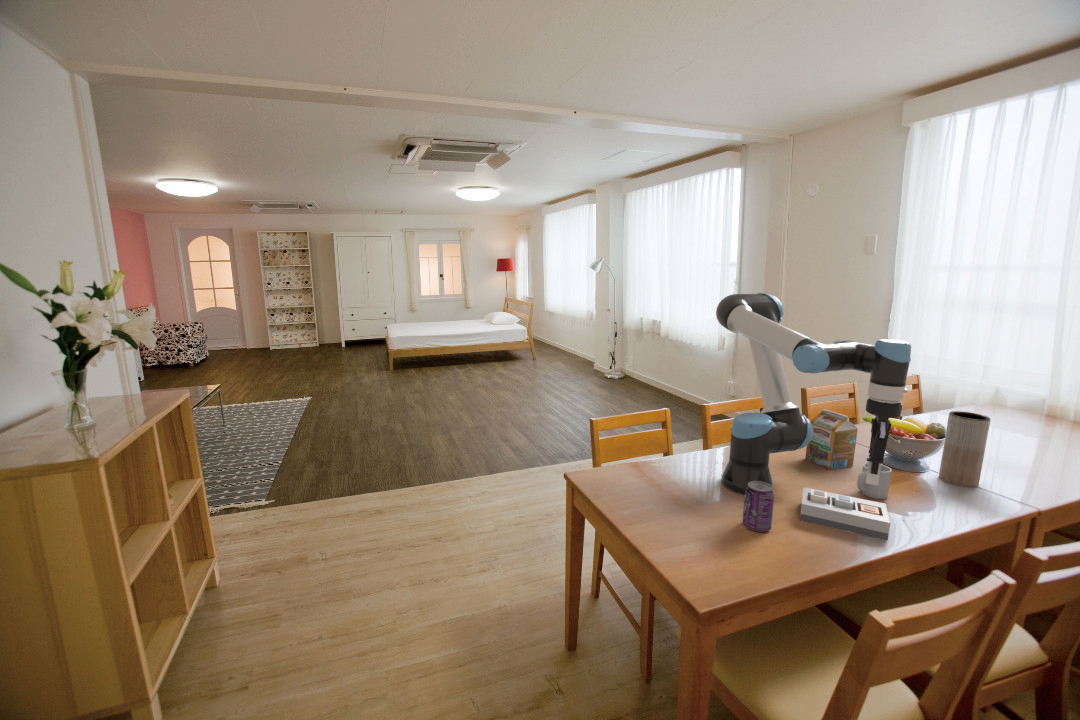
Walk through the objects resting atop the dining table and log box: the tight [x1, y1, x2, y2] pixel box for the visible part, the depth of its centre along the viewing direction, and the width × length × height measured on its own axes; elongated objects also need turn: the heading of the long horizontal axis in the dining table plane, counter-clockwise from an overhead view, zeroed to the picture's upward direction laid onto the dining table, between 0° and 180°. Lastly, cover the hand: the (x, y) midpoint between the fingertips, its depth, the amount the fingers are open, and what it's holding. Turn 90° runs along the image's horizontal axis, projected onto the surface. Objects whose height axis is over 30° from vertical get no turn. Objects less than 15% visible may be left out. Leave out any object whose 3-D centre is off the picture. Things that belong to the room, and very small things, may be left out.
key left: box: [810, 488, 828, 504], centre depth 134 cm, size 4×4×3 cm
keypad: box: [799, 487, 891, 542], centre depth 131 cm, size 20×12×5 cm, turn 59°
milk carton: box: [805, 408, 858, 471], centre depth 170 cm, size 11×11×19 cm
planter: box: [938, 410, 991, 488], centre depth 155 cm, size 10×10×23 cm
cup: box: [856, 462, 892, 500], centre depth 146 cm, size 7×10×9 cm
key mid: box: [834, 493, 853, 509], centre depth 131 cm, size 4×4×3 cm
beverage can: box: [742, 481, 775, 533], centre depth 127 cm, size 7×7×12 cm
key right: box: [860, 504, 879, 515], centre depth 128 cm, size 4×4×3 cm
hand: (871, 483), depth 127 cm, fingers closed
